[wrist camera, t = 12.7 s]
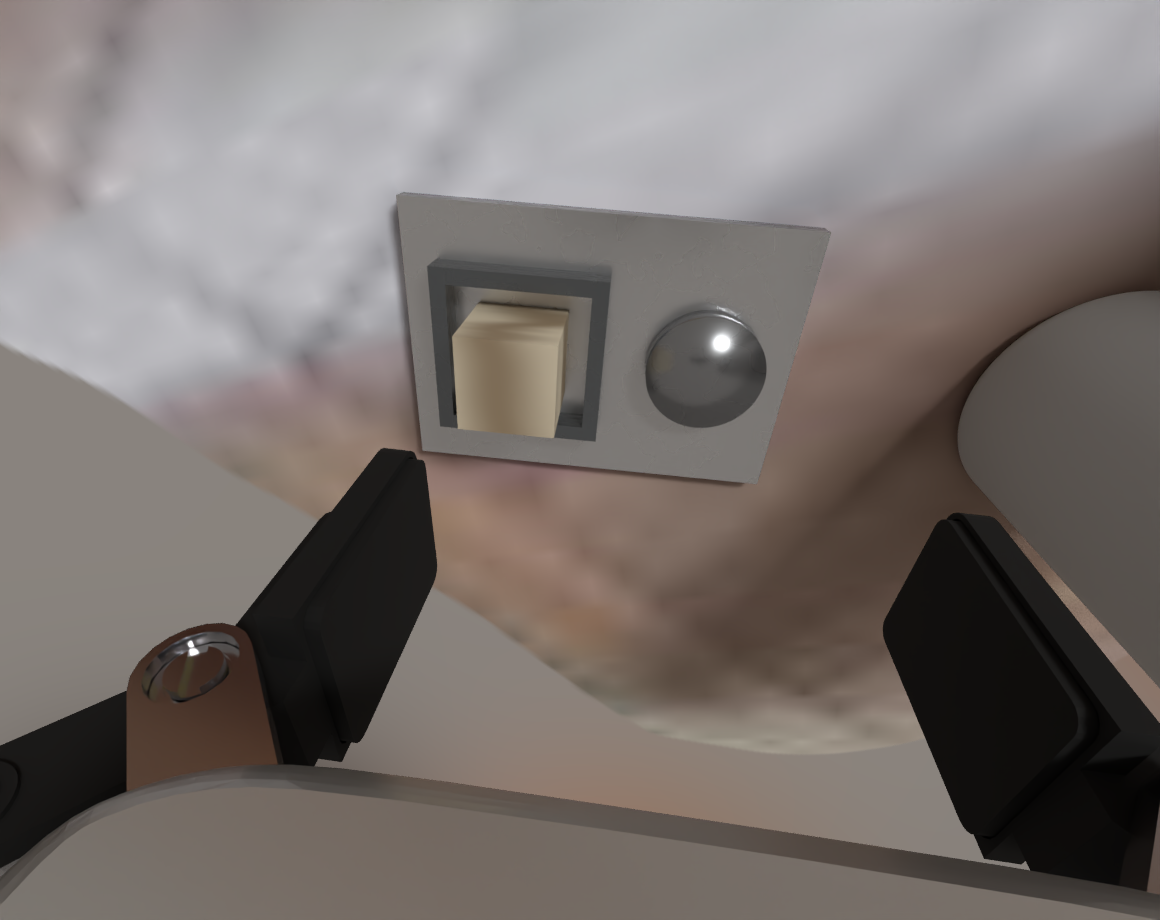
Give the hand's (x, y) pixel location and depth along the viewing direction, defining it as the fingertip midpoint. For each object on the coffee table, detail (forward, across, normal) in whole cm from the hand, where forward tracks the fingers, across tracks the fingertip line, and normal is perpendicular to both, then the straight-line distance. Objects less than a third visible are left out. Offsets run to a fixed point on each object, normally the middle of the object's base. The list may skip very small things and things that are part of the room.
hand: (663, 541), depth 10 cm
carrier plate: (+20, +3, +5) cm, 21 cm away
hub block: (+19, +6, +5) cm, 21 cm away
